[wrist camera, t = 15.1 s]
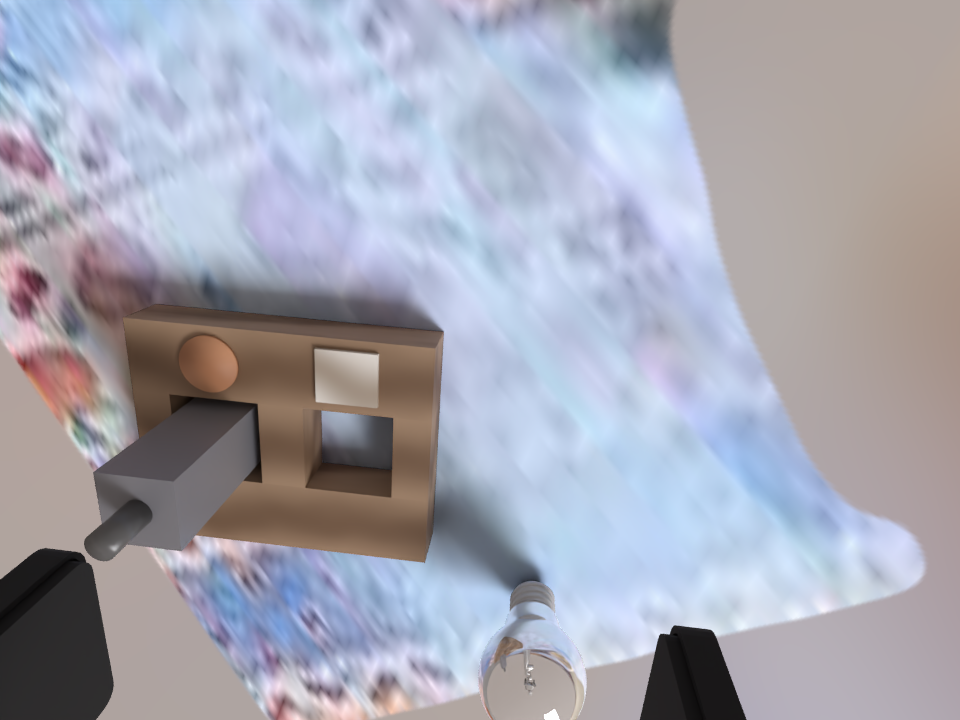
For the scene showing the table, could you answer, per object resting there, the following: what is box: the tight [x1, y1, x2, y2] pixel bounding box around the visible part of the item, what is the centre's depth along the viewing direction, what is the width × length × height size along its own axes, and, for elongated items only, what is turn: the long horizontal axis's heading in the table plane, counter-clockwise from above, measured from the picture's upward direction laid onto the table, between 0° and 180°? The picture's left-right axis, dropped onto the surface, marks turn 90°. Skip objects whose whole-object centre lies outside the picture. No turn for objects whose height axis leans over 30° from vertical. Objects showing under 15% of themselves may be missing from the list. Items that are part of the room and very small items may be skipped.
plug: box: [84, 397, 261, 561], centre depth 36 cm, size 4×4×15 cm
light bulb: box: [478, 581, 587, 720], centre depth 40 cm, size 7×7×12 cm
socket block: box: [123, 304, 444, 563], centre depth 41 cm, size 16×20×4 cm
